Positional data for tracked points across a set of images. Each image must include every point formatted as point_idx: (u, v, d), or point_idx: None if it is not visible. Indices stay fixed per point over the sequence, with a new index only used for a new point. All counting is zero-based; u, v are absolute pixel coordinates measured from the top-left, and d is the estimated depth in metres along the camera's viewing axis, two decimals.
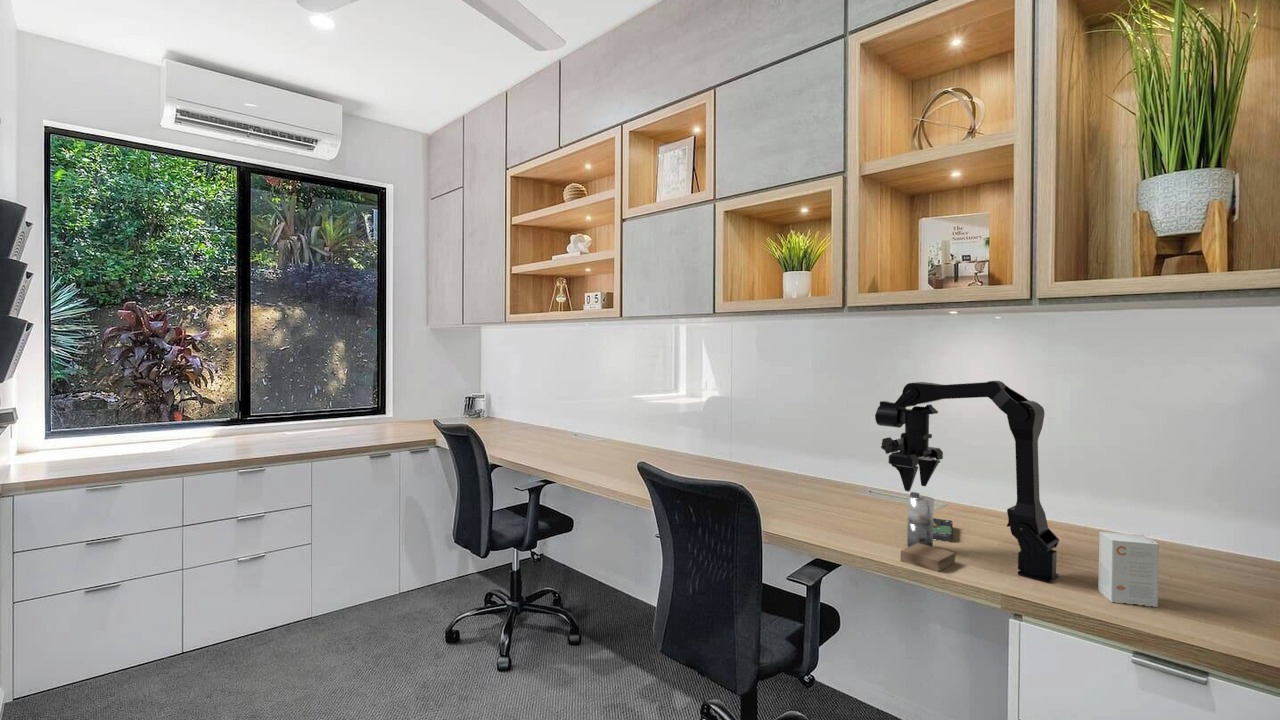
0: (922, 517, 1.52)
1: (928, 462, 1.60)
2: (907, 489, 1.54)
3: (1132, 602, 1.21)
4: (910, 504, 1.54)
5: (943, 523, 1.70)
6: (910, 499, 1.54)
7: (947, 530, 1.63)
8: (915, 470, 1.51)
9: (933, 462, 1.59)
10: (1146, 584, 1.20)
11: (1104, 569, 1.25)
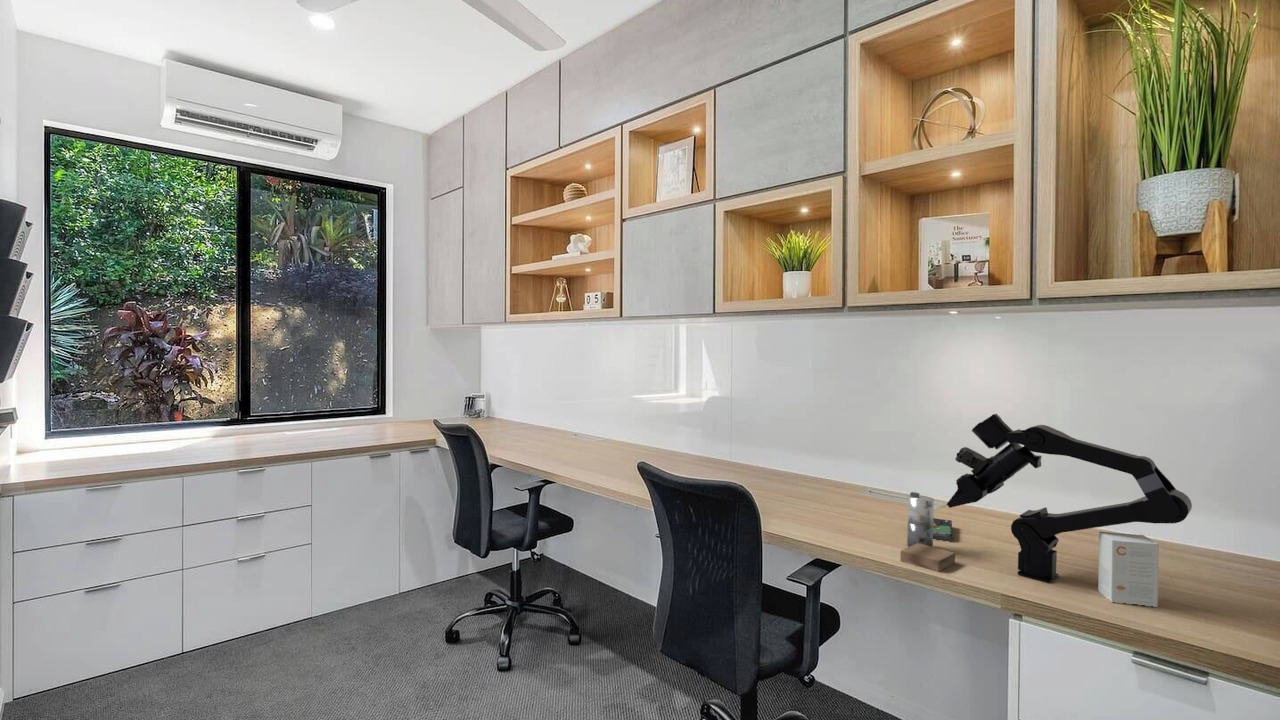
0: (922, 517, 1.52)
1: None
2: (950, 505, 1.45)
3: (1132, 602, 1.21)
4: (910, 504, 1.54)
5: (942, 523, 1.70)
6: (910, 499, 1.54)
7: (947, 530, 1.63)
8: None
9: (988, 490, 1.48)
10: (1146, 584, 1.20)
11: (1104, 570, 1.25)
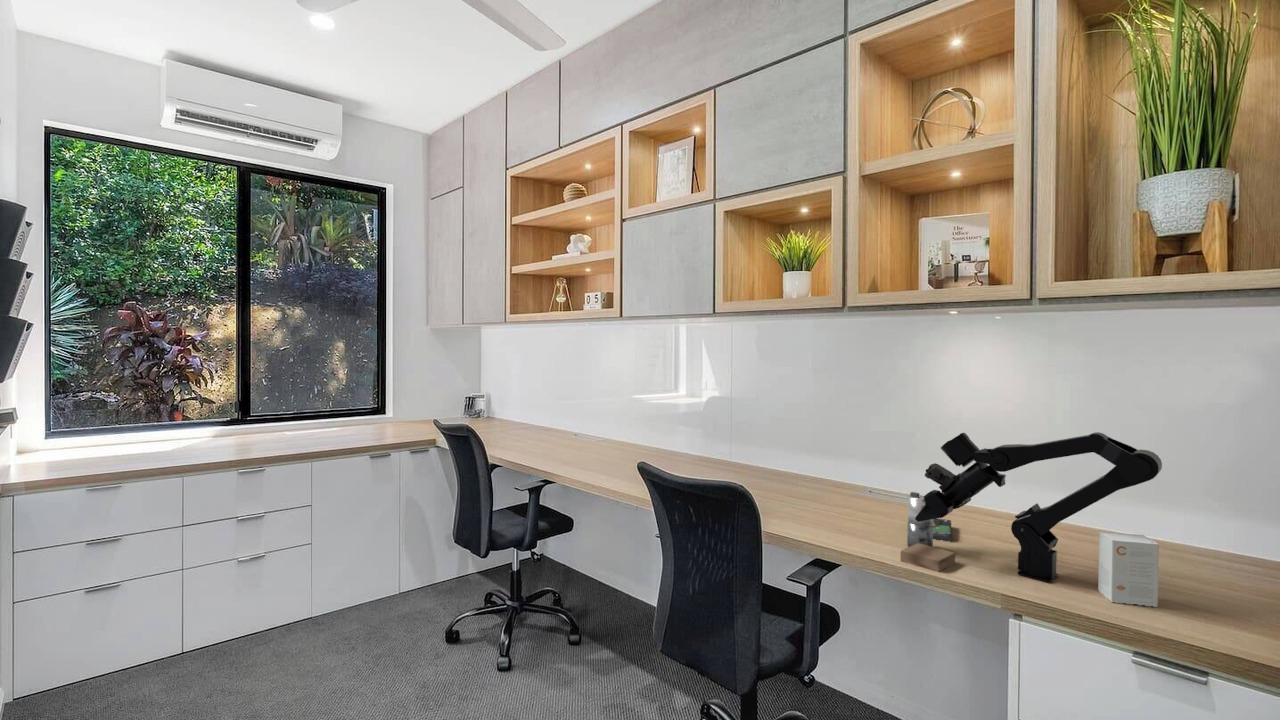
0: None
1: None
2: (917, 519, 1.50)
3: (1132, 602, 1.21)
4: (910, 504, 1.54)
5: (942, 523, 1.70)
6: (910, 499, 1.54)
7: (946, 530, 1.63)
8: None
9: (956, 505, 1.53)
10: (1146, 584, 1.20)
11: (1104, 569, 1.25)
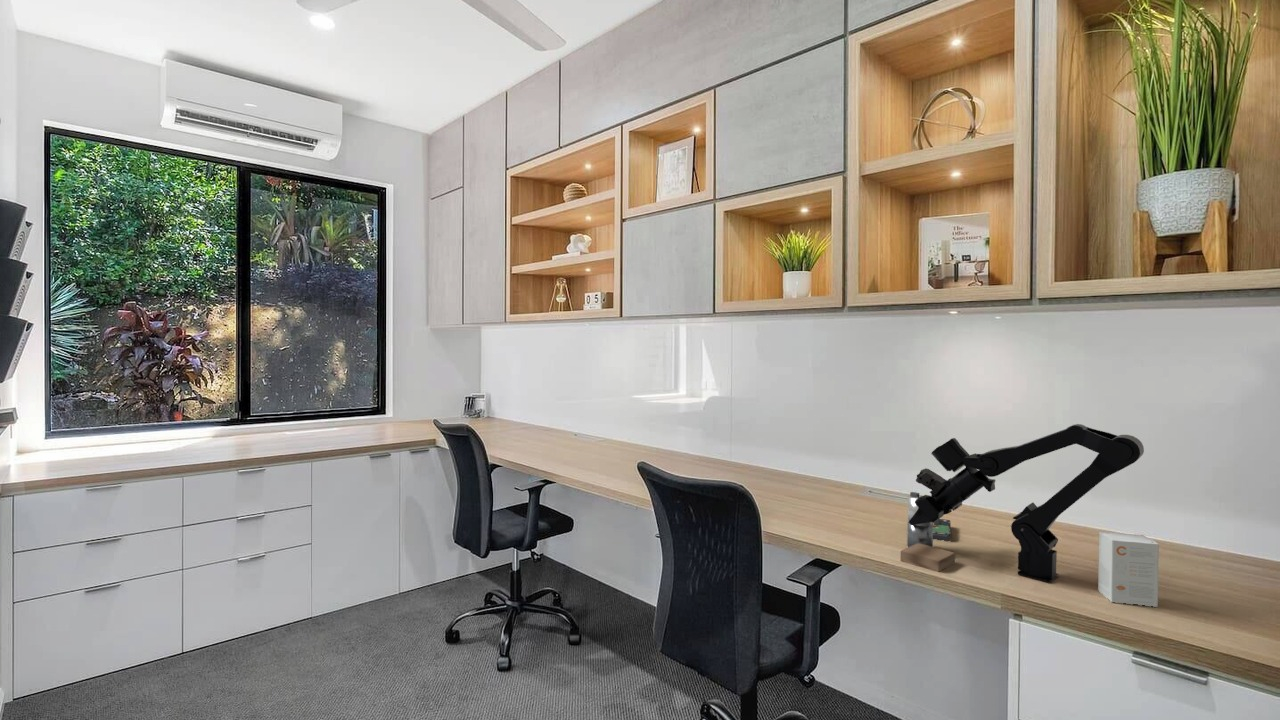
0: None
1: None
2: (911, 523, 1.53)
3: (1132, 602, 1.21)
4: (910, 504, 1.54)
5: (941, 523, 1.71)
6: (910, 499, 1.54)
7: (946, 530, 1.63)
8: None
9: (945, 511, 1.54)
10: (1146, 584, 1.20)
11: (1104, 570, 1.25)
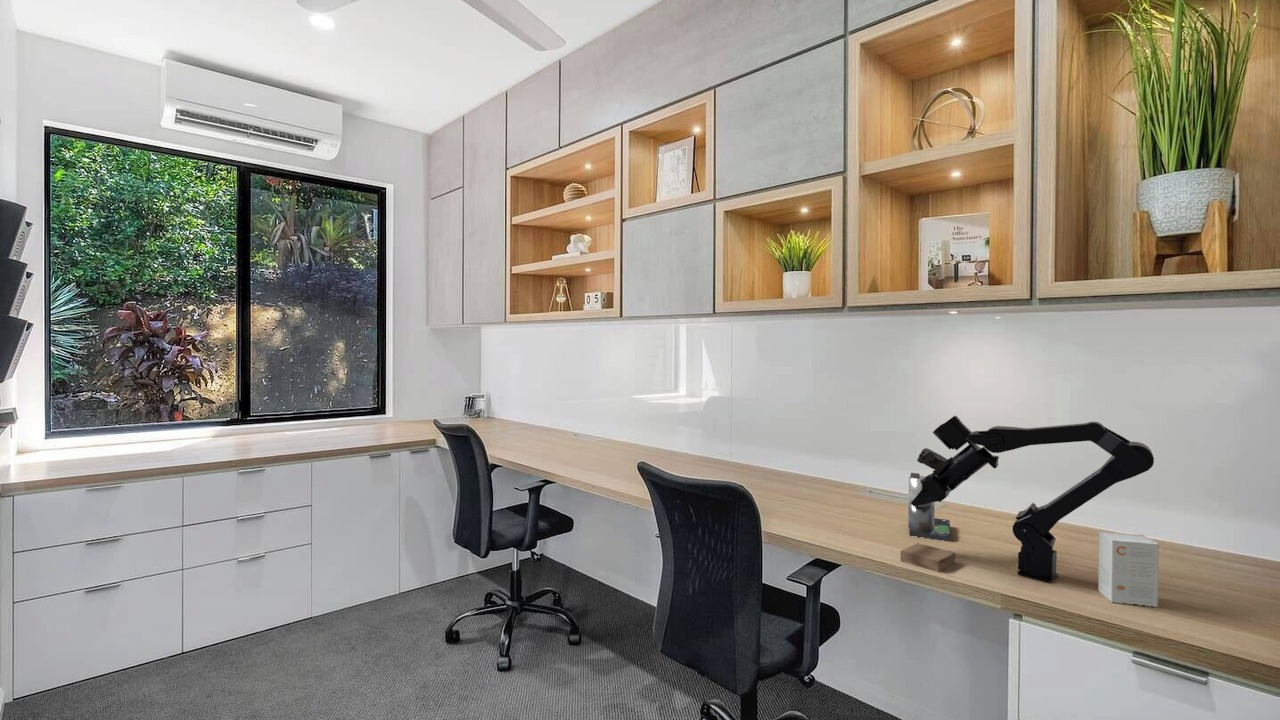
0: None
1: None
2: (914, 504, 1.49)
3: (1132, 602, 1.21)
4: (912, 485, 1.50)
5: (940, 522, 1.71)
6: (911, 480, 1.50)
7: (945, 530, 1.63)
8: None
9: None
10: (1146, 584, 1.20)
11: (1104, 569, 1.25)
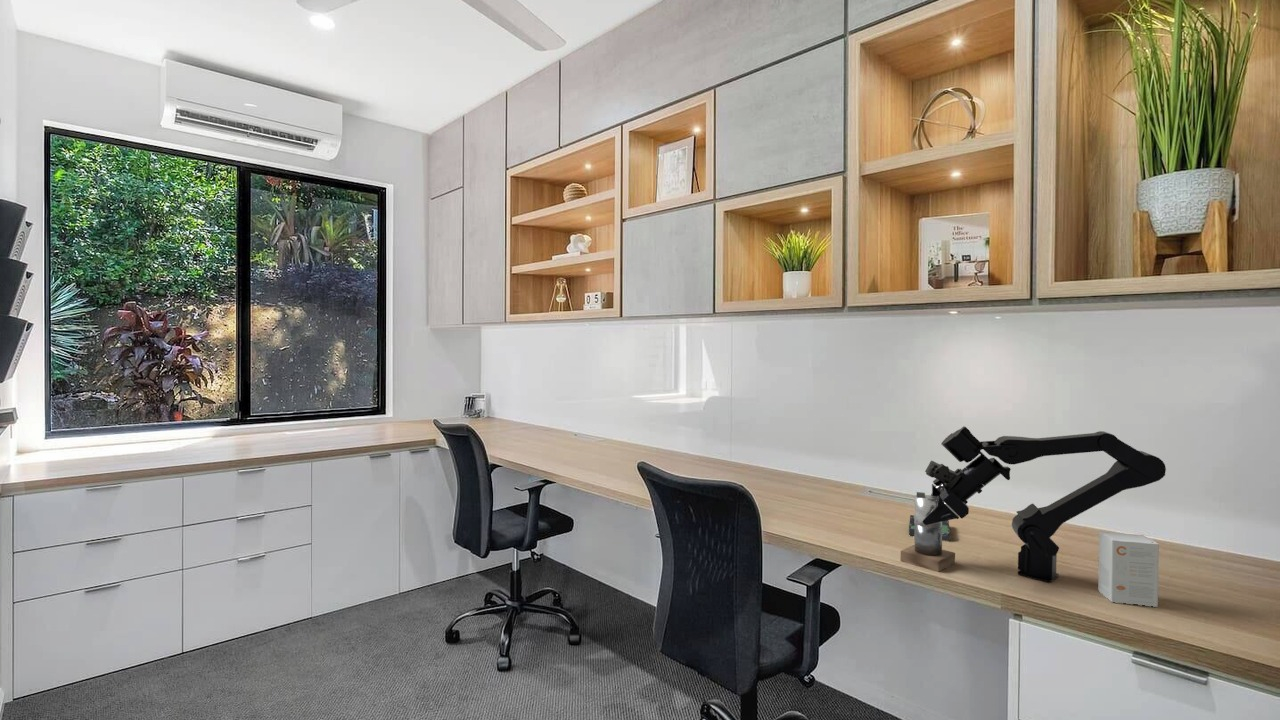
0: None
1: None
2: (926, 523, 1.40)
3: (1132, 602, 1.21)
4: (921, 505, 1.43)
5: None
6: (921, 500, 1.43)
7: (945, 529, 1.63)
8: None
9: None
10: (1146, 584, 1.20)
11: (1104, 569, 1.25)
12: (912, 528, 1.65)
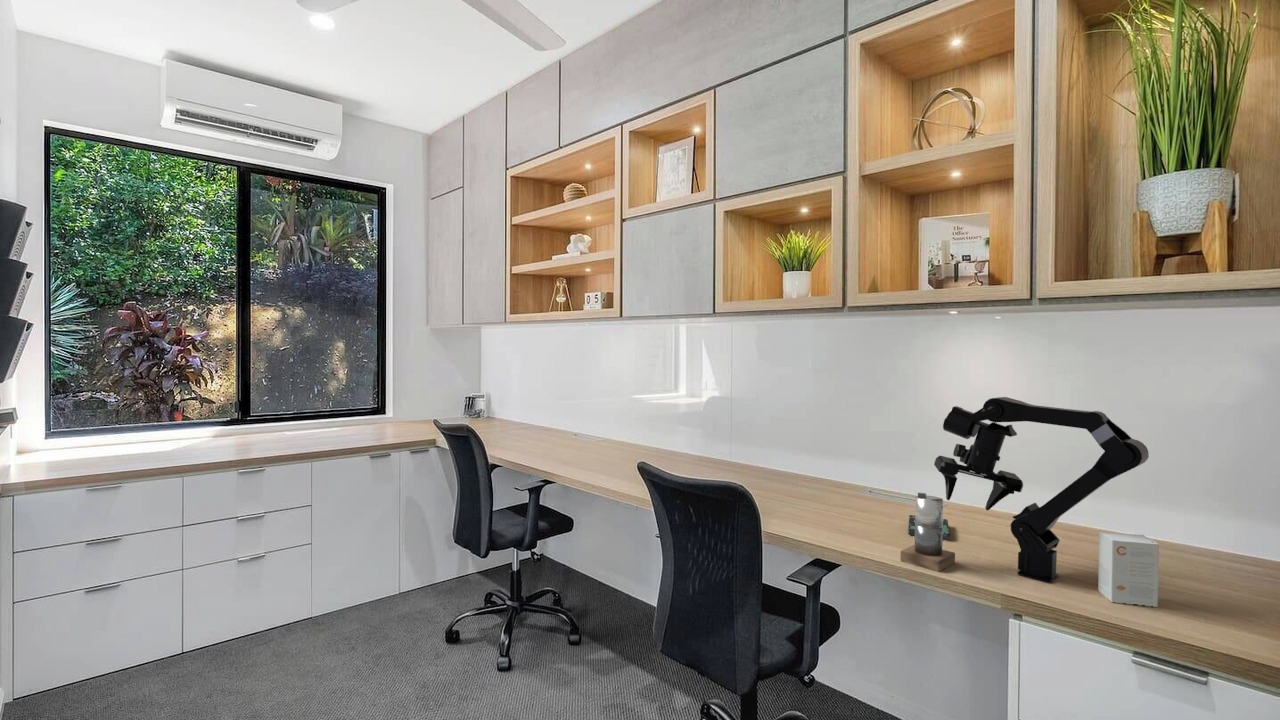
0: (936, 519, 1.41)
1: (998, 488, 1.45)
2: (946, 497, 1.48)
3: (1132, 602, 1.21)
4: (922, 506, 1.42)
5: None
6: (922, 501, 1.42)
7: (944, 529, 1.64)
8: (951, 480, 1.45)
9: (1000, 489, 1.43)
10: (1146, 584, 1.20)
11: (1104, 569, 1.25)
12: (912, 528, 1.65)
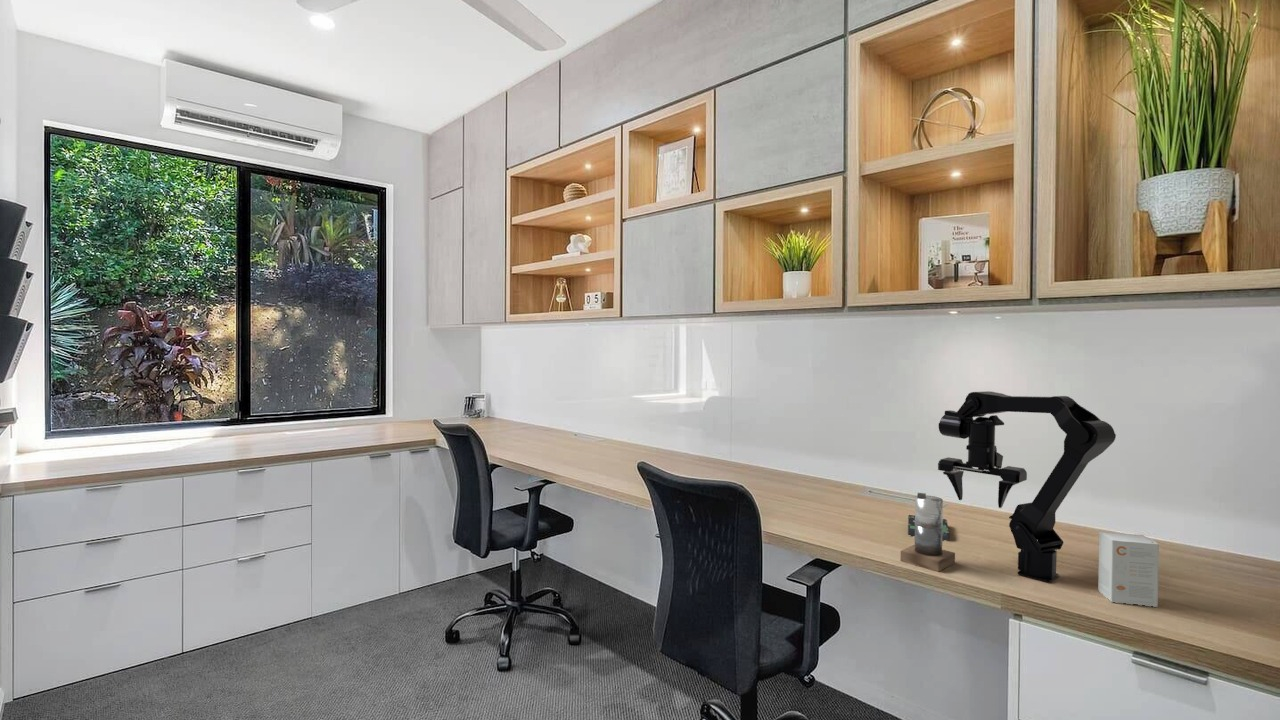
0: (936, 519, 1.41)
1: None
2: None
3: (1132, 602, 1.21)
4: (921, 506, 1.42)
5: None
6: (921, 501, 1.42)
7: (944, 529, 1.64)
8: (950, 476, 1.52)
9: None
10: (1146, 584, 1.20)
11: (1104, 569, 1.25)
12: (911, 528, 1.65)
